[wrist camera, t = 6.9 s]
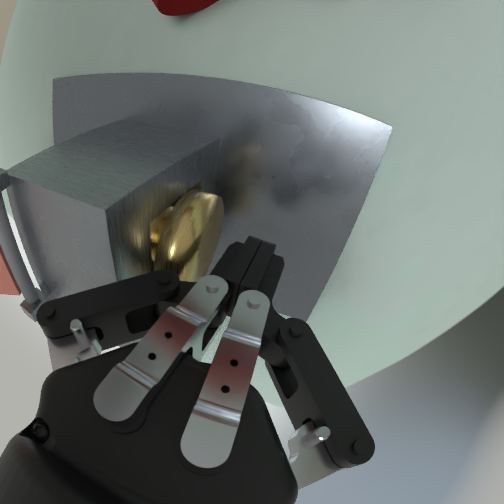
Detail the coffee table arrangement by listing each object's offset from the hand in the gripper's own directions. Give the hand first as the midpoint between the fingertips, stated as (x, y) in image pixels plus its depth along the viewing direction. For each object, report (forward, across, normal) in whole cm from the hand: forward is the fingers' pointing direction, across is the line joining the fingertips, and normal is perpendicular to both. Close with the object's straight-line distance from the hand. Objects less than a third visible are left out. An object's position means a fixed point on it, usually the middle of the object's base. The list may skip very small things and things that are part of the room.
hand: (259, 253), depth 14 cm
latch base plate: (+4, +8, 0) cm, 9 cm away
